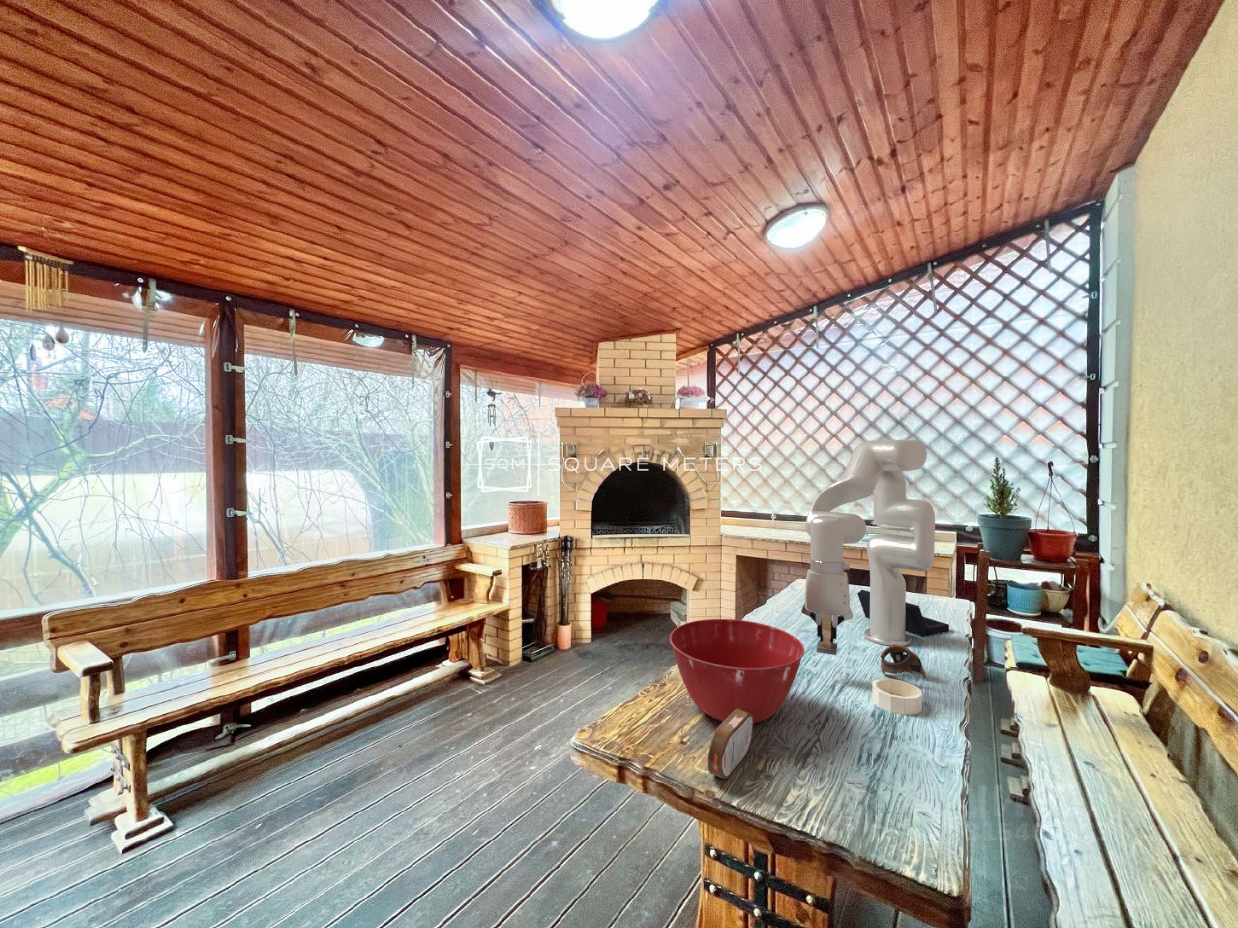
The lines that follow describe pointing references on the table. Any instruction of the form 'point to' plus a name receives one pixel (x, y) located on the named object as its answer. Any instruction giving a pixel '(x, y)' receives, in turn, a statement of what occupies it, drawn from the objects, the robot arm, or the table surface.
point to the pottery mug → (901, 661)
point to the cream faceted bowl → (897, 696)
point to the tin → (730, 743)
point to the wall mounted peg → (826, 636)
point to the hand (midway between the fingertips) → (826, 640)
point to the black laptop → (909, 618)
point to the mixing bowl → (736, 665)
